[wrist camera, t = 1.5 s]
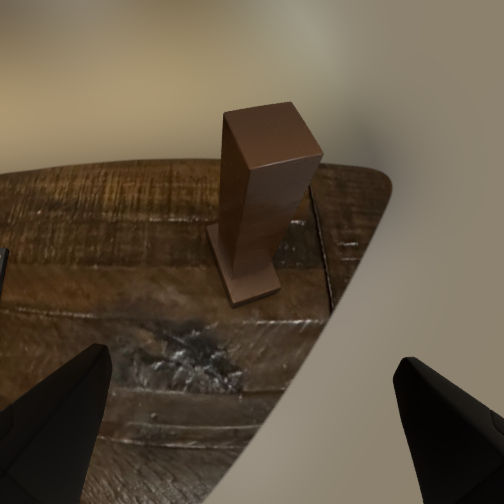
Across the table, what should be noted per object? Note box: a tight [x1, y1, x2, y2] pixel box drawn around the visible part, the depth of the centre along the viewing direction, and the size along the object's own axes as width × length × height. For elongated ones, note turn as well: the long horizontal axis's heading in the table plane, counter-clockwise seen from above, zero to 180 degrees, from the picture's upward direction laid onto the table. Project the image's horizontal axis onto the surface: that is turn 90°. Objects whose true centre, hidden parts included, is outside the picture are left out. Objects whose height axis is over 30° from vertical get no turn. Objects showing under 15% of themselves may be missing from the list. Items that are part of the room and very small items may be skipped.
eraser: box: [206, 102, 323, 308], centre depth 17 cm, size 6×4×14 cm, turn 21°
